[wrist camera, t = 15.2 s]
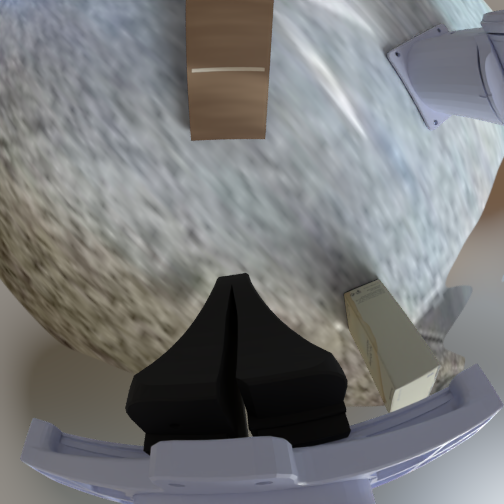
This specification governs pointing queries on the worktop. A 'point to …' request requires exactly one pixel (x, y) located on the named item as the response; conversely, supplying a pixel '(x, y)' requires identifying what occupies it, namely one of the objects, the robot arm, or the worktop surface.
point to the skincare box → (390, 346)
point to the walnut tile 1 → (228, 67)
